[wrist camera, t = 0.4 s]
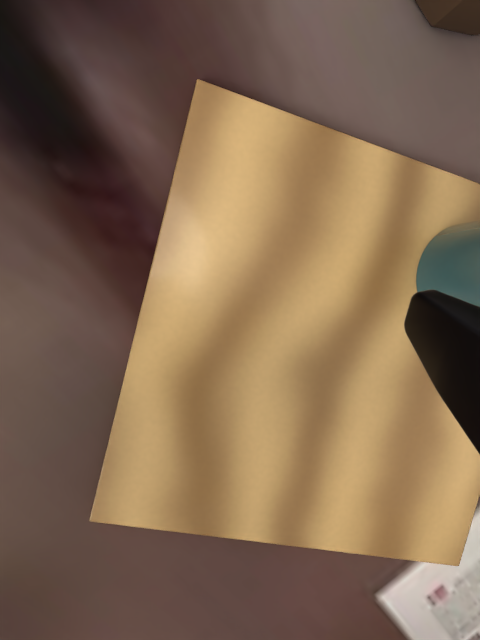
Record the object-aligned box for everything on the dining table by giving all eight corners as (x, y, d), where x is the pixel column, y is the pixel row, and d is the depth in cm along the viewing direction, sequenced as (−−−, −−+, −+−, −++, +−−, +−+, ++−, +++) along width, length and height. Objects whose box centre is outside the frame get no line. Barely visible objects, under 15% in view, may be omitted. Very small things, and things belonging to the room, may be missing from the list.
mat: (552, 215, 27) (561, 213, 26) (452, 560, 28) (459, 566, 27) (196, 83, 22) (197, 78, 21) (90, 515, 23) (88, 521, 22)
